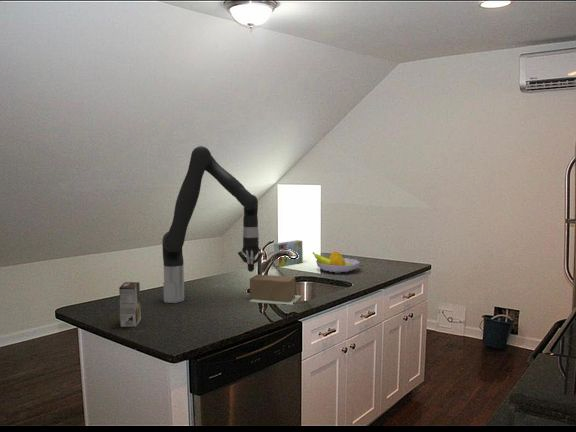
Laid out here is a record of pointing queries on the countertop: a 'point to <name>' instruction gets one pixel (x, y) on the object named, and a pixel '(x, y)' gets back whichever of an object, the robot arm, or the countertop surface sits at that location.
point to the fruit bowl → (336, 263)
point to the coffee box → (130, 304)
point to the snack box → (293, 246)
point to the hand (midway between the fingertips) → (251, 271)
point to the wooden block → (272, 288)
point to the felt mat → (276, 301)
